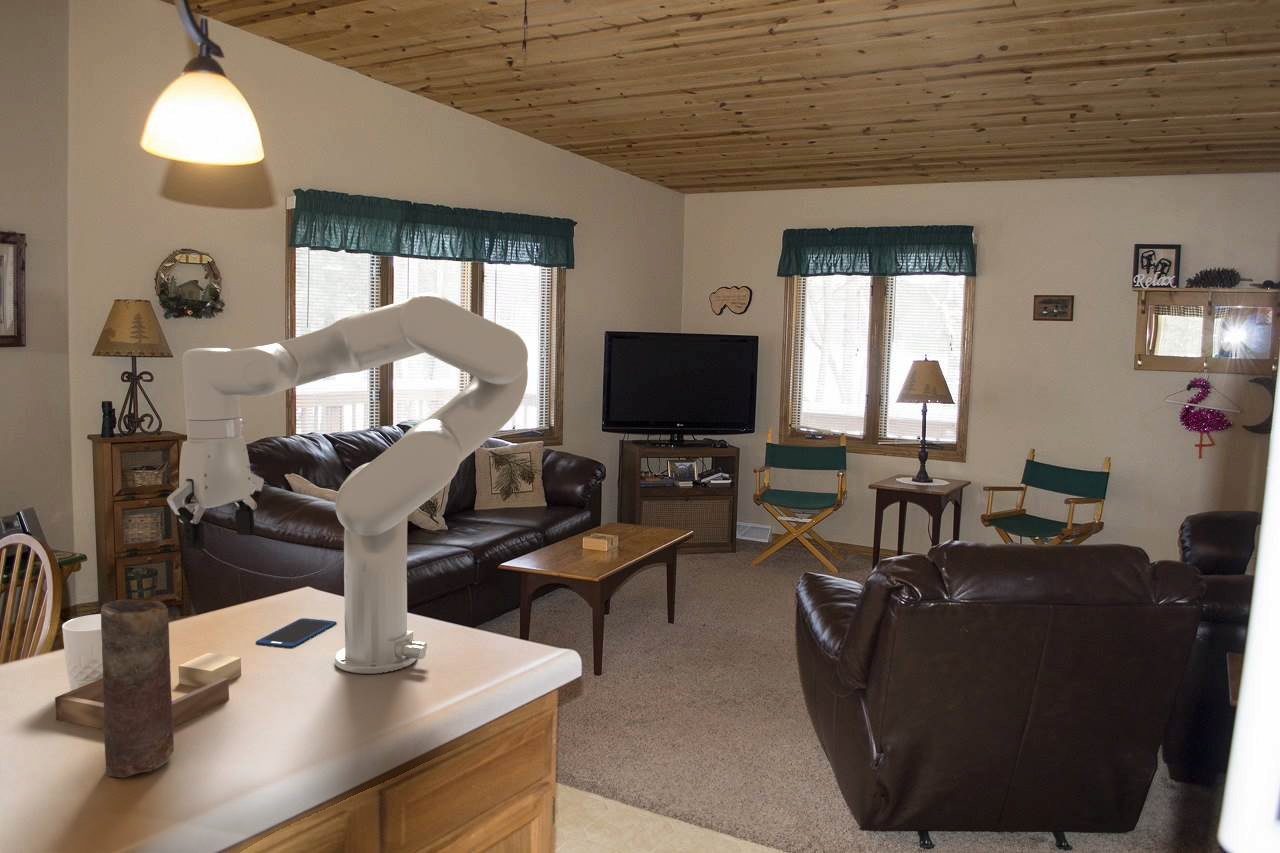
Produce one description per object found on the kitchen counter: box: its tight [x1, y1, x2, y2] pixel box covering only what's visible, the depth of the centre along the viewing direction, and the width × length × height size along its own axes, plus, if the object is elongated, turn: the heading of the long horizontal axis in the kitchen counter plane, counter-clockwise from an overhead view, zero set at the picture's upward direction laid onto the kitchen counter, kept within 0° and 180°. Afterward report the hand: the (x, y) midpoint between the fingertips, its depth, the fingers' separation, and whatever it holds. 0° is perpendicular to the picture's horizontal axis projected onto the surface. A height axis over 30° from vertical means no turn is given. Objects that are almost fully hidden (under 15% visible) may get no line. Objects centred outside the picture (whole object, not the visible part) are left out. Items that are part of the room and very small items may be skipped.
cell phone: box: [255, 617, 338, 649], centre depth 165 cm, size 7×14×1 cm, turn 166°
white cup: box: [61, 613, 103, 692], centre depth 139 cm, size 8×8×10 cm
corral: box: [54, 678, 230, 730], centre depth 133 cm, size 16×14×3 cm
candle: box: [100, 599, 175, 778], centre depth 115 cm, size 8×7×20 cm
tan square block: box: [178, 652, 242, 688], centre depth 144 cm, size 6×6×3 cm
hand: (221, 541), depth 147 cm, fingers open, 9 cm apart
